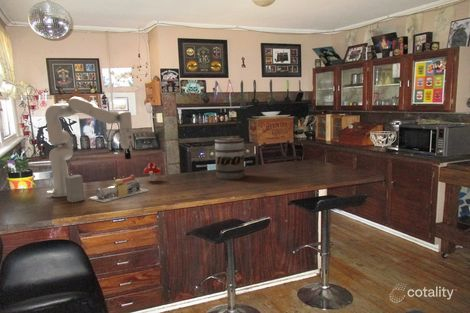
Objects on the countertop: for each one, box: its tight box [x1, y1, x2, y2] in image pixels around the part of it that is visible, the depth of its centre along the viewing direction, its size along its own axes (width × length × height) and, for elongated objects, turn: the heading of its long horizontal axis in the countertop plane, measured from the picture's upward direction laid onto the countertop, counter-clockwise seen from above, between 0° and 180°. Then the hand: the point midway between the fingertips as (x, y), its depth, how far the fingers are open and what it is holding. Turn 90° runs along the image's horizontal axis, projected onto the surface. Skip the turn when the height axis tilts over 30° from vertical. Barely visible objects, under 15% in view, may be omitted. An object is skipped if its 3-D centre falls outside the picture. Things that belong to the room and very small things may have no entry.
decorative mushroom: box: [142, 161, 162, 182], centre depth 274 cm, size 14×14×15 cm
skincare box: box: [65, 174, 85, 204], centre depth 221 cm, size 8×7×16 cm
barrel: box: [214, 137, 246, 181], centre depth 282 cm, size 22×22×30 cm
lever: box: [114, 174, 136, 185], centre depth 239 cm, size 17×4×3 cm, turn 156°
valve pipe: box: [88, 179, 149, 203], centre depth 234 cm, size 34×16×7 cm, turn 143°
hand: (128, 158), depth 235 cm, fingers closed
